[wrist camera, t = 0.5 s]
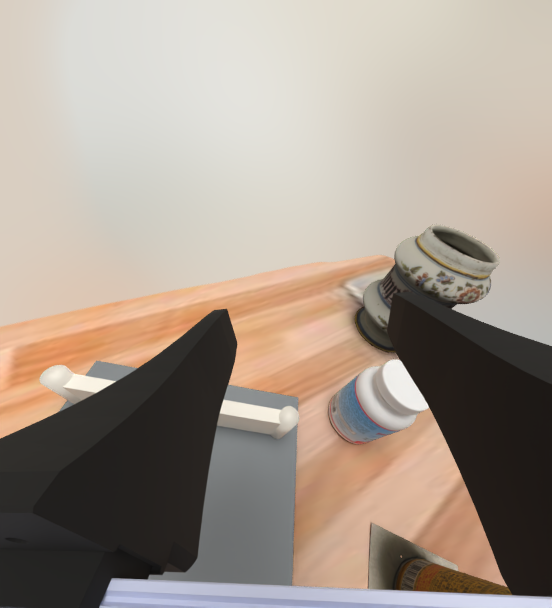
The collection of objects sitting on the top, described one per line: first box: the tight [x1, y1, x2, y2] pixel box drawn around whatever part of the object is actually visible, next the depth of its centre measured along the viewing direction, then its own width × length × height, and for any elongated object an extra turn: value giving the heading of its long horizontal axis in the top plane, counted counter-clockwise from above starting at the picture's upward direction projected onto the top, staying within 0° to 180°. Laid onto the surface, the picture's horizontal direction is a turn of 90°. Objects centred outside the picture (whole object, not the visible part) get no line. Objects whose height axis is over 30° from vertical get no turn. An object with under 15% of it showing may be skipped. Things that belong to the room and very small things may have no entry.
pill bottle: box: [329, 360, 429, 444], centre depth 23 cm, size 6×6×11 cm
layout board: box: [59, 361, 298, 586], centre depth 21 cm, size 16×24×1 cm, turn 84°
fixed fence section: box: [40, 365, 116, 404], centre depth 21 cm, size 12×2×6 cm, turn 84°
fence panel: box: [217, 400, 299, 439], centre depth 22 cm, size 10×2×6 cm, turn 84°
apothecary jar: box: [355, 225, 500, 352], centre depth 32 cm, size 12×12×18 cm
